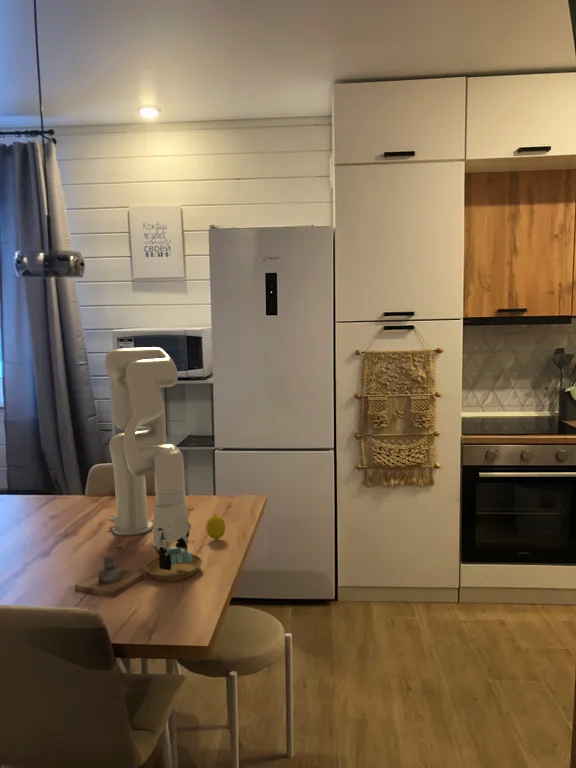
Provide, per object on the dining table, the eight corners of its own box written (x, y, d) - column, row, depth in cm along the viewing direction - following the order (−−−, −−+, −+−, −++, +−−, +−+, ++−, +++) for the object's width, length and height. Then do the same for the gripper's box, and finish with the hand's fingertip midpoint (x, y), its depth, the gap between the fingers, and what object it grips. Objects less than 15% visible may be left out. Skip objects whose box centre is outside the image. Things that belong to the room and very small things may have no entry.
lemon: (222, 543, 180) (221, 517, 179) (204, 543, 181) (203, 517, 180) (228, 537, 185) (226, 511, 185) (210, 536, 187) (209, 511, 186)
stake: (75, 589, 152) (73, 562, 151) (107, 571, 162) (105, 545, 162) (113, 596, 147) (111, 568, 146) (144, 577, 158) (142, 551, 157)
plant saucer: (176, 589, 150) (175, 579, 150) (133, 578, 158) (133, 568, 158) (213, 568, 163) (213, 558, 163) (172, 558, 171) (172, 549, 170)
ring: (154, 562, 158) (154, 554, 158) (170, 552, 164) (170, 545, 164) (183, 566, 154) (182, 559, 154) (198, 556, 161) (197, 549, 160)
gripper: (177, 487, 167) (180, 550, 169) (137, 505, 151) (141, 574, 153) (200, 489, 164) (203, 553, 166) (162, 508, 148) (166, 578, 150)
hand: (174, 563), depth 160 cm, fingers closed on ring, 6 cm apart
